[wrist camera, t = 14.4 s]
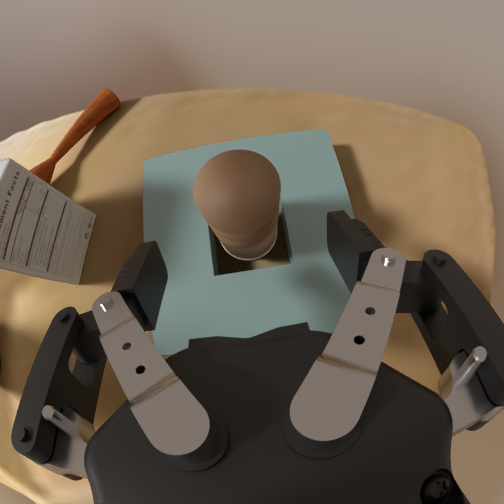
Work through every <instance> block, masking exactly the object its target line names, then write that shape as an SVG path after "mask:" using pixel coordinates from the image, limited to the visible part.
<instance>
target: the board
mask: <svg viewBox="0 0 504 504" xmlns="http://www.w3.org/2000/svg"><path fill="white" fill-rule="evenodd" d="M241 149H242V150H249V151H253V152H256V153H259V154H261V155H262V156H264V157H265V158H267V159H268V160H269V161H270V162H271V163H272V164H273V165H274V167H275V168H276V170H277V172H278V174H279V177H280V182H281V193H280V203H279V208H280V213H281V218H282V223H283V228H284V233H285V239H286V244H287V249H288V255H289V261H290V264H287V265H281V266H275V267H268V268H262V269H256V270H250V271H243V272H237V273H230V274H224V275H219V267H218V259H217V252H216V243H215V235H214V232H213V230H212V229H211V227H210V226H209V224H208V223H207V221H206V220H205V219H204V217H203V216H202V214H201V213H200V211H199V210H198V208H197V206H196V204H195V201H194V196H193V187H194V182H195V178H196V176H197V174H198V172H199V171H200V169H201V168H202V167H203V165H204V164H205V163H206V162H207V161H209V160H210V159H211V158H213V157H214V156H216V155H218V154H220V153H223V152H226V151H230V150H241ZM338 210H344V211H345V212H346V213H347V214H348V216H349V217H350V218H351V219H355V217H354V213H353V209H352V205H351V202H350V198H349V195H348V191H347V188H346V185H345V181H344V178H343V175H342V172H341V168H340V165H339V162H338V159H337V156H336V153H335V150H334V148H333V145H332V142H331V139H330V136H329V133H328V131H327V130H313V131H301V132H291V133H282V134H273V135H266V136H258V137H252V138H245V139H239V140H233V141H227V142H222V143H216V144H211V145H206V146H201V147H197V148H192V149H187V150H183V151H179V152H175V153H170V154H166V155H162V156H159V157H155V158H151V159H147V160H144V167H143V235H144V242H149V241H156V242H157V244H158V246H159V249H160V251H161V254H162V257H163V260H164V262H165V265H166V268H167V272H168V281H167V284H166V288H165V292H164V296H163V299H162V303H161V307H160V311H159V315H158V319H157V324H156V328H155V330H152V335H153V342H154V346H155V348H156V349H157V350H158V352H159V353H160V355H173V354H175V353H177V352H179V351H181V350H184V349H187V348H188V345H189V339H194V338H204V337H213V336H223V337H237V338H250V337H253V336H256V335H258V334H261V333H264V332H267V331H269V330H272V329H275V328H277V327H282V326H288V325H293V324H299V323H304V322H308V325H309V329H310V330H314V331H323V332H327V333H332V332H334V330H335V328H336V326H337V324H338V322H339V320H340V318H341V316H342V314H343V311H344V309H345V307H346V305H347V303H348V301H349V298H350V296H351V294H350V292H349V290H348V288H347V286H346V284H345V282H344V280H343V278H342V276H341V275H340V273H339V271H338V269H337V267H336V265H335V263H334V262H333V260H332V258H331V256H330V254H329V251H328V247H327V213H328V212H331V211H338Z"/></svg>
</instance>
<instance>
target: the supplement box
mask: <svg viewBox="0 0 504 504" xmlns="http://www.w3.org/2000/svg"><path fill="white" fill-rule="evenodd" d="M95 218H96V214H94V213H93V212H91V211H90V210H88V209H86V208H85V207H83V206H81V205H80V204H78V203H76V202H75V201H73V200H72V199H70V198H69V197H67V196H66V195H64V194H63V193H61V192H60V191H58V190H57V189H55V188H53V187H52V186H50V185H49V184H48V183H46V182H45V181H43V180H42V179H40V178H39V177H37V176H36V175H34V174H33V173H31V172H30V171H29V170H27V169H26V168H24V167H23V166H21V165H20V164H18V163H17V162H15V161H14V160H12V159H10V158H7V159H1V160H0V269H4V270H8V271H12V272H16V273H20V274H24V275H29V276H33V277H38V278H43V279H48V280H53V281H58V282H64V283H69V284H75V285H79V282H80V277H81V273H82V268H83V264H84V260H85V255H86V252H87V248H88V244H89V240H90V236H91V232H92V229H93V225H94V222H95Z"/></svg>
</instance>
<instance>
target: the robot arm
mask: <svg viewBox="0 0 504 504" xmlns="http://www.w3.org/2000/svg"><path fill="white" fill-rule="evenodd" d="M327 247H328V251H329V254H330V256H331V258H332V260H333V262H334V263H335V265H336V267H337V269H338V271H339V273H340V275H341V276H342V278H343V280H344V282H345V284H346V286H347V288H348V290H349V292H350V294H351V296H350V298H349V301H348V303H347V305H346V307H345V309H344V311H343V314H342V316H341V318H340V320H339V322H338V324H337V326H336V328H335V330H334V332H333V334H331V333H327V332H323V331H314V330H310V329H309V325H308V322H304V323H299V324H293V325H288V326H282V327H277V328H275V329H272V330H269V331H267V332H264V333H261V334H258V335H256V336H253V337H250V338H237V337H223V336H213V337H204V338H194V339H189V345H188V348H187V349H184V350H181V351H179V352H177V353H175V354H173V355H172V356H170V357H169V358H168V359H166V360H164V359H163V357H162V356H161V355H160V353H159V352H158V350H157V349H156V348H155V346H154V345H153V343H152V342H151V340H150V339H149V338H148V336H147V335H146V333H145V331H152V330H155V328H156V324H157V319H158V315H159V311H160V307H161V303H162V299H163V296H164V292H165V288H166V284H167V281H168V272H167V268H166V265H165V262H164V260H163V257H162V254H161V251H160V249H159V246H158V244H157V242H156V241H149V242H144V243H140V244H139V246H138V248H137V250H136V252H135V254H134V255H132V256H131V257H130V258H129V259H128V260H127V261H126V262H125V264H124V265H123V267H122V270H121V271H120V273H119V276H118V277H117V279H116V282H115V284H114V286H113V288H112V290H111V292H107V293H105V294H103V295H101V296H100V297H98V298H97V299H96V300H95V302H94V303H93V305H92V310H91V311H88V312H86V313H83V314H80V315H79V313H78V312H77V310H76V309H75V308H74V307H67V308H64V309H62V310H61V311H59V312H58V313H57V314H56V315H55V317H54V318H53V320H52V322H51V324H50V327H49V329H48V331H47V333H46V335H45V337H44V340H43V342H42V344H41V346H40V349H39V351H38V354H37V356H36V358H35V361H34V363H33V366H32V369H31V371H30V374H29V377H28V379H27V382H26V385H25V388H24V391H23V394H22V397H21V400H20V404H19V407H18V411H17V414H16V418H15V422H14V425H13V430H12V435H11V439H12V444H13V447H14V448H15V450H16V451H17V452H19V453H20V454H22V455H24V456H25V457H27V458H29V459H31V460H32V461H34V462H35V463H36V464H38V465H40V466H42V467H44V468H46V469H48V470H50V471H52V472H54V473H56V474H59V475H62V476H65V477H67V478H69V479H72V480H81V479H82V478H87V479H88V480H89V483H90V486H91V490H92V494H93V500H94V504H470V502H469V501H468V499H467V498H466V496H465V495H464V493H463V492H462V491H461V489H460V488H459V486H458V484H457V483H456V481H455V479H454V477H453V475H452V471H451V461H450V450H451V440H452V436H454V435H456V434H458V433H460V432H462V431H463V430H466V429H467V430H470V431H475V430H478V429H479V428H481V427H482V426H484V425H485V424H486V423H487V422H488V421H490V420H491V419H492V418H493V417H495V416H496V415H497V414H498V413H499V412H500V411H502V410H503V409H504V324H503V322H502V321H501V319H500V318H499V316H498V315H497V314H496V312H495V311H494V309H493V308H492V307H491V305H490V304H489V302H488V301H487V300H486V298H485V297H484V296H483V294H482V293H481V292H480V291H479V289H478V288H477V287H476V285H475V284H474V283H473V282H472V281H471V279H470V278H469V277H468V276H467V274H466V273H465V272H464V271H463V270H462V269H461V267H460V266H459V265H458V264H457V263H456V262H455V260H454V259H453V258H452V257H451V256H450V255H449V254H447V253H445V252H443V251H440V250H429V251H427V252H426V253H425V254H424V257H423V261H407V260H406V259H405V257H404V255H403V254H402V253H400V252H399V251H397V250H395V249H391V248H385V247H384V246H383V245H382V243H381V242H380V241H379V240H378V239H377V238H376V236H375V235H373V233H372V232H371V231H370V230H369V228H368V227H367V226H366V225H365V224H364V223H363V222H361V221H359V220H357V219H351V218H350V217H349V216H348V214H347V213H346V212H345V211H344V210H338V211H331V212H328V213H327ZM442 301H443V302H444V304H445V305H446V307H447V310H448V314H447V312H446V311H445V309H444V308H443V306H442V305H441V302H442ZM395 313H411V315H412V317H413V319H414V321H415V323H416V325H417V326H418V328H419V330H420V332H421V334H422V336H423V338H424V340H425V342H426V344H427V346H428V348H429V350H430V352H431V354H432V356H433V358H434V360H435V363H436V365H437V367H438V369H439V371H440V374H441V377H440V379H439V383H438V389H439V393H440V395H438V394H437V393H435V392H434V391H432V390H430V389H428V388H427V387H425V386H423V385H421V384H420V383H418V382H416V381H414V380H412V379H411V378H409V377H407V376H406V375H404V374H402V373H400V372H399V371H397V370H395V369H393V368H392V367H390V366H388V365H387V364H385V363H383V362H381V360H382V357H383V354H384V351H385V348H386V344H387V341H388V338H389V334H390V331H391V327H392V323H393V320H394V316H395ZM72 352H73V353H74V354H75V355H76V357H77V361H76V364H75V367H74V370H73V374H72V373H71V372H70V370H69V366H68V362H69V358H70V355H71V353H72ZM107 357H108V360H109V362H110V364H111V366H112V368H113V370H114V372H115V375H116V377H117V379H118V381H119V383H120V385H121V387H122V389H123V391H124V392H125V394H126V396H127V398H128V399H127V400H126V401H125V402H124V403H123V404H122V405H121V407H120V408H119V409H118V410H117V411H116V412H115V413H114V414H113V415H112V416H111V417H110V418H109V419H108V420H107V421H106V422H105V423H104V424H103V425H102V426H101V427H100V428H99V429H98V430H97V431H95V429H94V427H93V422H94V416H95V411H96V405H97V400H98V395H99V390H100V386H101V381H102V377H103V372H104V368H105V364H106V360H107Z"/></svg>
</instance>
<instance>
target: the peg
mask: <svg viewBox="0 0 504 504" xmlns="http://www.w3.org/2000/svg"><path fill="white" fill-rule="evenodd" d="M280 193H281V182H280V177H279V174H278V172H277V170H276V168H275V167H274V165H273V164H272V163H271V162H270V161H269V160H268V159H267V158H265V157H264V156H262V155H261V154H259V153H256V152H253V151H249V150H242V149H241V150H230V151H226V152H223V153H220V154H218V155H216V156H214V157H213V158H211V159H210V160H209V161H207V162H206V163H205V164H204V165H203V167H202V168H201V169H200V171H199V172H198V174H197V176H196V178H195V182H194V187H193V196H194V201H195V204H196V206H197V208H198V210H199V211H200V213H201V214H202V216H203V217H204V219H205V220H206V221H207V223H208V224H209V226H210V227H211V229H212V230H213V232H214V233H215V235H216V236H217V237H218V239H219V240H220V242H221V244H222V246H223V247H224V249H225V250H226V251H227V252H228V253H229V254H230V255H231V256H233V257H234V258H236V259H239V260H242V261H254V260H258V259H260V258H262V257H264V256H265V255H267V254H268V253H269V252H270V250H271V249H272V247H273V246H274V244H275V241H276V238H277V223H278V213H279V203H280Z"/></svg>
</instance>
